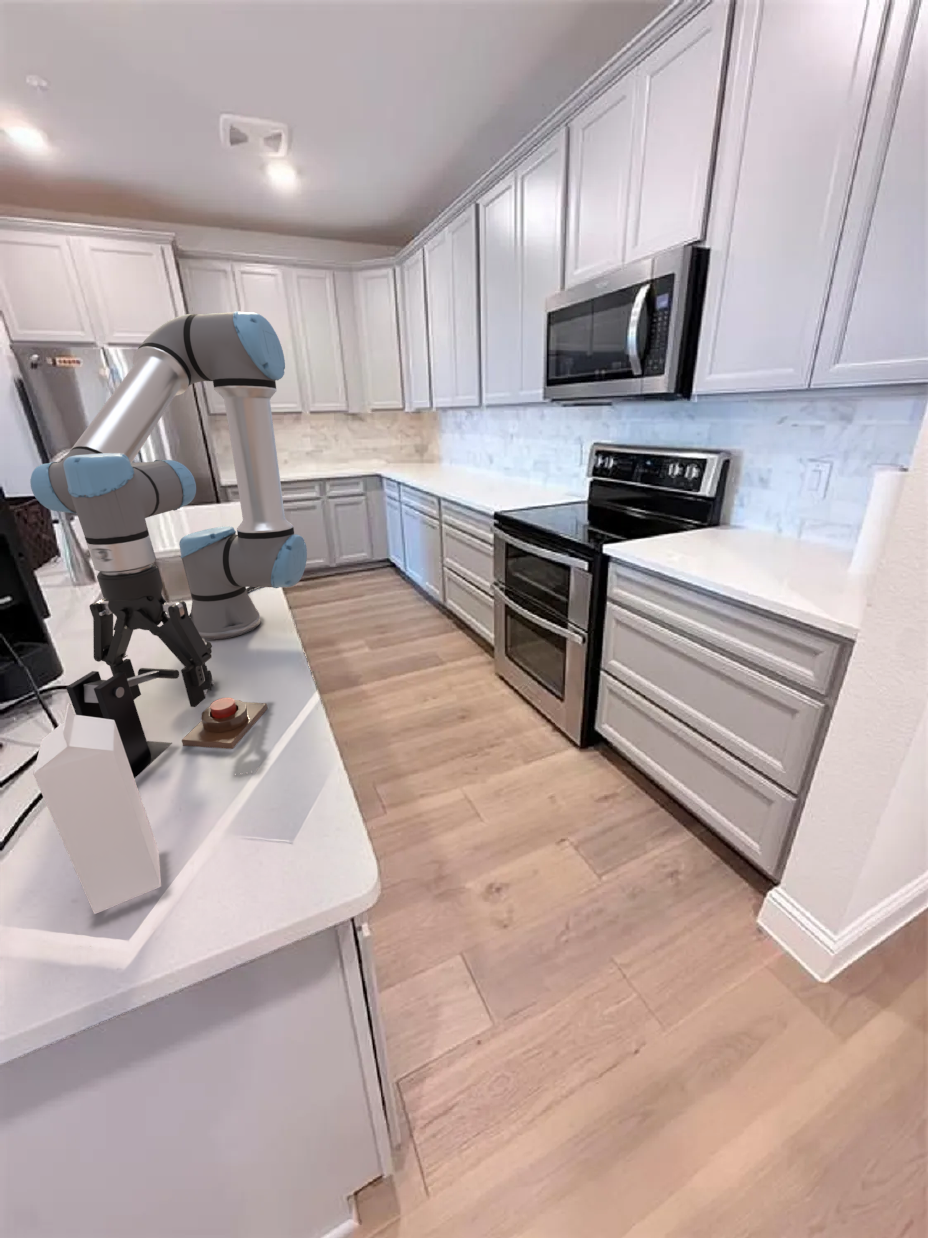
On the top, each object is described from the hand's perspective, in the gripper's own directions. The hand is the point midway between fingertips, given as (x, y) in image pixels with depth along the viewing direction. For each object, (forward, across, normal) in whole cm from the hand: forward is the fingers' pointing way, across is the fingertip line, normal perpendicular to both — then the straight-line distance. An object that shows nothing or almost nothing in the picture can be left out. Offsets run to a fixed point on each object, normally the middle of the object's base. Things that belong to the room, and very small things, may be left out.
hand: (165, 700), depth 81 cm
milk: (+5, +15, -28) cm, 32 cm away
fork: (+6, +16, -2) cm, 17 cm away
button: (+1, +10, 0) cm, 10 cm away
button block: (+5, +10, 0) cm, 11 cm away
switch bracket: (+5, 0, -10) cm, 11 cm away
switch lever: (-5, 0, -6) cm, 8 cm away
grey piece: (+5, -1, +11) cm, 12 cm away
